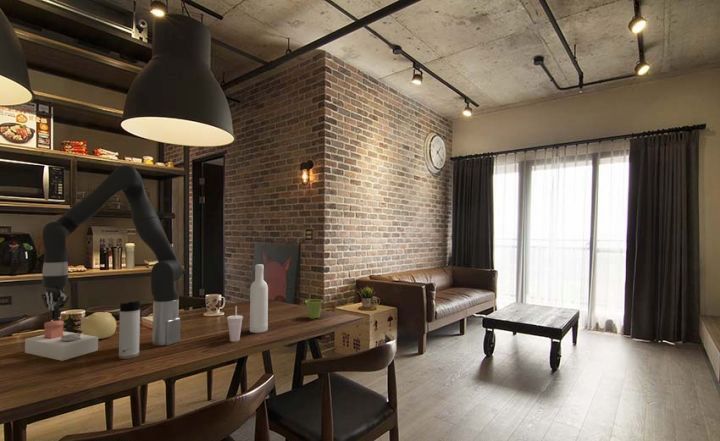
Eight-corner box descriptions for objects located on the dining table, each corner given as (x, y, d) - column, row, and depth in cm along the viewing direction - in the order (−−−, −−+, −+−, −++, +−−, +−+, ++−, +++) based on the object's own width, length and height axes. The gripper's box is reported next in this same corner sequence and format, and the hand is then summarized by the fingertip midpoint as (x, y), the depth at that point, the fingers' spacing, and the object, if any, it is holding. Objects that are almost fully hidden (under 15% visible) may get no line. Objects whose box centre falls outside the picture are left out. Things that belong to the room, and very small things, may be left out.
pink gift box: (66, 336, 142) (67, 321, 142) (49, 340, 136) (50, 324, 137) (57, 335, 144) (57, 319, 144) (40, 339, 138) (41, 323, 139)
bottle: (261, 333, 163) (261, 265, 164) (246, 332, 166) (246, 265, 166) (271, 329, 171) (271, 264, 171) (256, 327, 173) (257, 263, 174)
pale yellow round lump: (105, 332, 163) (105, 308, 164) (121, 336, 158) (122, 311, 158) (76, 339, 153) (76, 313, 153) (92, 343, 148) (93, 316, 148)
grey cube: (83, 350, 138) (83, 334, 138) (66, 355, 133) (67, 338, 133) (73, 348, 140) (74, 333, 140) (57, 353, 135) (57, 337, 135)
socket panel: (97, 350, 140) (98, 337, 140) (62, 360, 128) (62, 346, 129) (61, 343, 148) (61, 330, 148) (24, 352, 136) (25, 339, 137)
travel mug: (124, 360, 129) (125, 303, 129) (115, 357, 132) (116, 301, 133) (143, 355, 134) (144, 300, 135) (133, 352, 138) (134, 298, 138)
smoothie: (246, 339, 155) (246, 305, 155) (235, 343, 149) (235, 308, 149) (234, 337, 157) (234, 304, 158) (223, 341, 152) (223, 307, 152)
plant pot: (302, 319, 190) (302, 302, 190) (307, 315, 199) (308, 298, 199) (320, 320, 188) (320, 302, 189) (324, 315, 198) (324, 299, 198)
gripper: (77, 273, 142) (76, 319, 141) (55, 272, 147) (54, 315, 146) (55, 276, 135) (53, 323, 134) (33, 274, 140) (32, 320, 139)
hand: (54, 319), depth 140 cm, fingers closed
